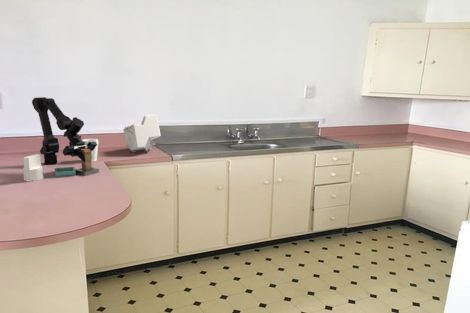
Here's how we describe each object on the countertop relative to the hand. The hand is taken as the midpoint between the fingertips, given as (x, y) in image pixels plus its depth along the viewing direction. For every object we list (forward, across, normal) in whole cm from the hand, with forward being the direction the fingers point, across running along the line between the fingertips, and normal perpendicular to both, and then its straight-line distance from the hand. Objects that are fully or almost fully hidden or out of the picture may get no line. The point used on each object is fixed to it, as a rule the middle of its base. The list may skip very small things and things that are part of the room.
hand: (87, 160), depth 210 cm
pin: (+4, 0, -6) cm, 7 cm away
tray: (-1, +9, -11) cm, 14 cm away
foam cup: (-11, -20, -22) cm, 31 cm away
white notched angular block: (-8, -58, -19) cm, 62 cm away
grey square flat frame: (+4, 0, -6) cm, 7 cm away
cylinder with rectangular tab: (-4, +24, -14) cm, 28 cm away
